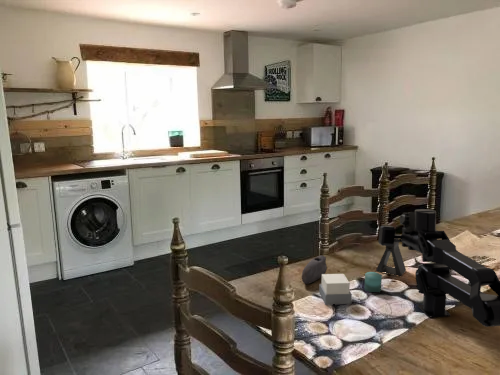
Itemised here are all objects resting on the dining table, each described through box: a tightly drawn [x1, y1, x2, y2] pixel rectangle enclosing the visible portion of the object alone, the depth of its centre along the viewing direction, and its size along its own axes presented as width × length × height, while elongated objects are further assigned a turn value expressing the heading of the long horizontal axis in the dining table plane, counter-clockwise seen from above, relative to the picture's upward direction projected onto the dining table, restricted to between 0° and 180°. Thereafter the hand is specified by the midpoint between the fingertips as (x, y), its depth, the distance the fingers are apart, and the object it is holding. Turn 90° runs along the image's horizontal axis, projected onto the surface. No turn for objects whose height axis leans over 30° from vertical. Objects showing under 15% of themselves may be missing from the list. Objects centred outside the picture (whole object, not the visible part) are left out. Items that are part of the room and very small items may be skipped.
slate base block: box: [318, 283, 352, 306], centre depth 124 cm, size 8×8×4 cm
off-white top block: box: [320, 273, 351, 294], centre depth 124 cm, size 7×7×4 cm
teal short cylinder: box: [364, 271, 383, 293], centre depth 130 cm, size 5×5×5 cm
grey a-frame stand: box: [375, 238, 407, 277], centre depth 144 cm, size 9×6×12 cm, turn 54°
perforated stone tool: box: [301, 255, 328, 285], centre depth 138 cm, size 15×5×7 cm, turn 141°
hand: (396, 231), depth 137 cm, fingers open, 9 cm apart
